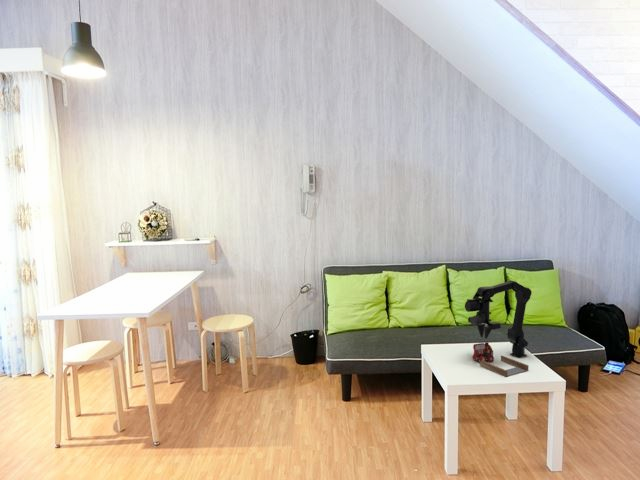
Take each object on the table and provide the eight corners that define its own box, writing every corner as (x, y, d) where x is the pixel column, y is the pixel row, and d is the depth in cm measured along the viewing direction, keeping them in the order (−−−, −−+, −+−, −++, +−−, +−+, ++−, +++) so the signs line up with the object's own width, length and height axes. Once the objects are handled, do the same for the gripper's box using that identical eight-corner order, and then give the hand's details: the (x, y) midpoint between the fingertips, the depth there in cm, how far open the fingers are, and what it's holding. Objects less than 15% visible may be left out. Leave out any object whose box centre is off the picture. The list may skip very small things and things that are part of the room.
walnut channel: (502, 360, 248) (502, 355, 248) (528, 370, 233) (528, 365, 233) (480, 366, 241) (480, 360, 241) (505, 377, 226) (505, 371, 225)
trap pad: (516, 367, 238) (516, 367, 237) (526, 371, 232) (526, 370, 232) (498, 372, 232) (498, 371, 232) (507, 376, 226) (507, 375, 226)
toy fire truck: (497, 361, 247) (497, 343, 246) (478, 364, 243) (478, 346, 243) (488, 357, 254) (488, 339, 253) (470, 360, 250) (470, 342, 249)
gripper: (460, 308, 252) (460, 335, 253) (486, 315, 235) (485, 344, 236) (475, 306, 257) (475, 332, 258) (501, 313, 240) (501, 341, 241)
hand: (483, 337), depth 248 cm, fingers open, 3 cm apart
